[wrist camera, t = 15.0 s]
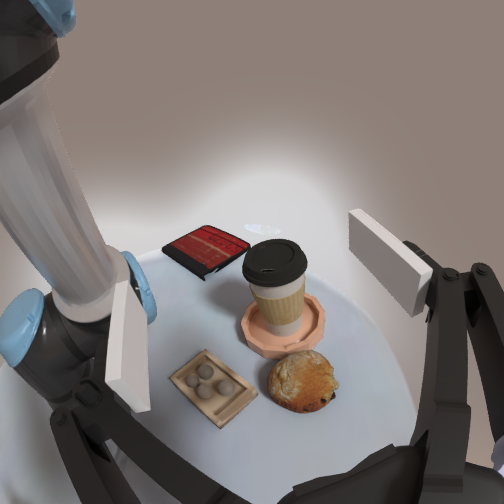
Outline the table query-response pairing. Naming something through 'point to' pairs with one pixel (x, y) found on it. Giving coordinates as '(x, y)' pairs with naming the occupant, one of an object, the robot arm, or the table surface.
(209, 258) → the binder
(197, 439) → the table surface
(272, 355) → the dish
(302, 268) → the coffee cup
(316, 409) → the bread roll
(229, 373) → the pebble tray
